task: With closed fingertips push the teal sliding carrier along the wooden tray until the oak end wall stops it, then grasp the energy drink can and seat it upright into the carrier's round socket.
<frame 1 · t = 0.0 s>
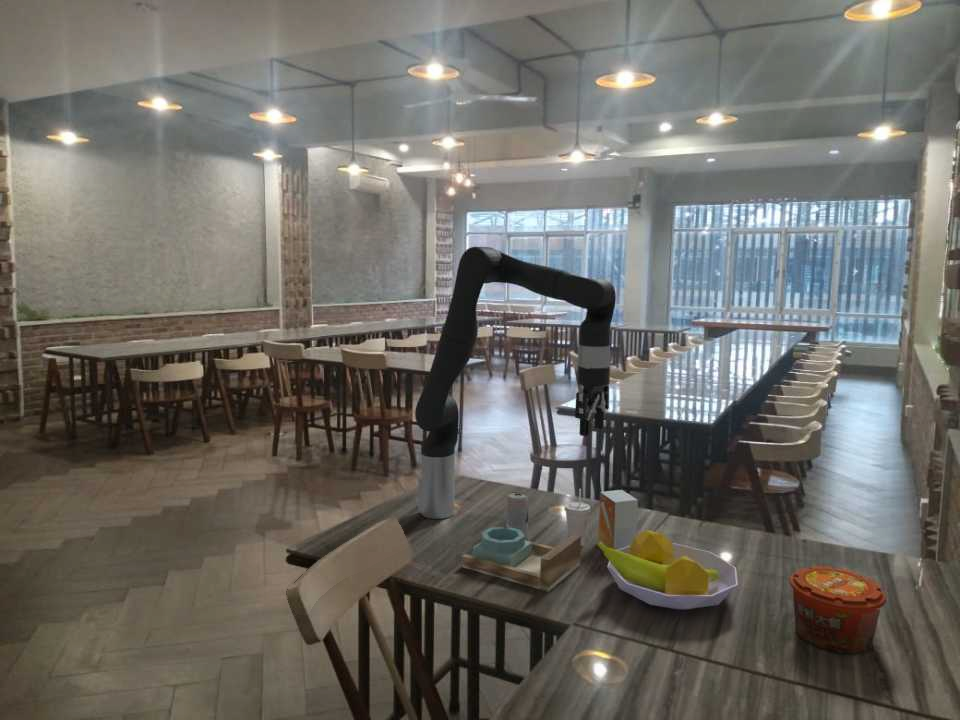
hand: (591, 432, 166), 29 cm above the table, fingers open, 8 cm apart
wooden tray: (521, 566, 160), on the table
small box: (616, 547, 172), on the table
smoothie: (576, 544, 174), on the table
food container: (832, 637, 131), on the table
fruit bowl: (665, 593, 148), on the table
carrier: (502, 545, 163), point 4 cm above the table, slide at 0.0 cm
energy drink: (516, 542, 175), on the table
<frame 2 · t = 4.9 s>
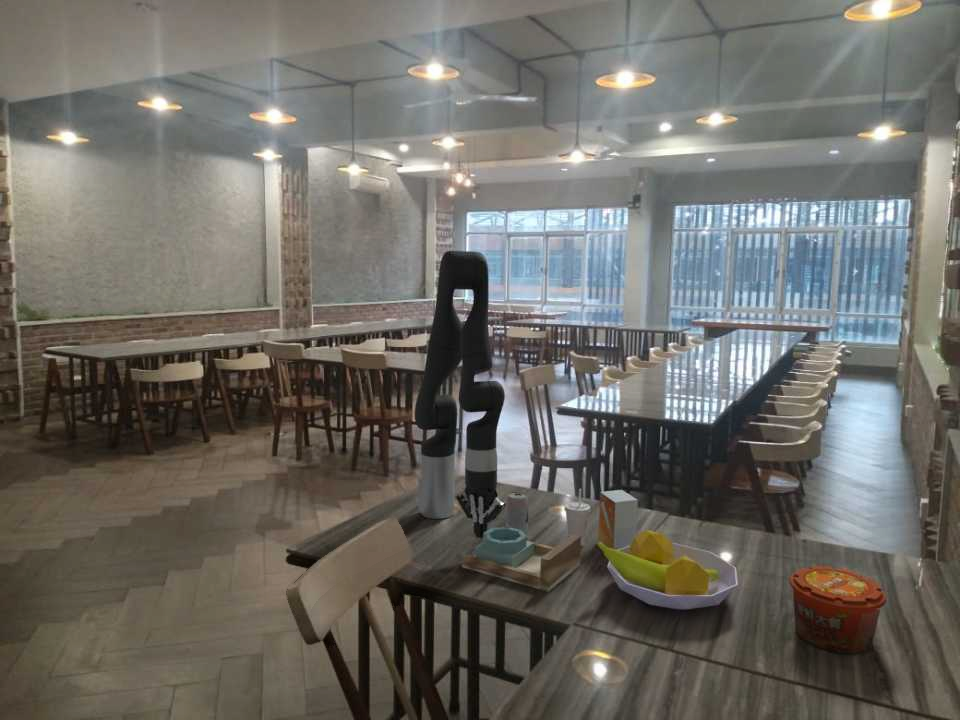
hand: (480, 536, 166), 5 cm above the table, fingers closed
carrier: (504, 545, 162), point 4 cm above the table, slide at 0.5 cm, touching gripper
everything else where it was.
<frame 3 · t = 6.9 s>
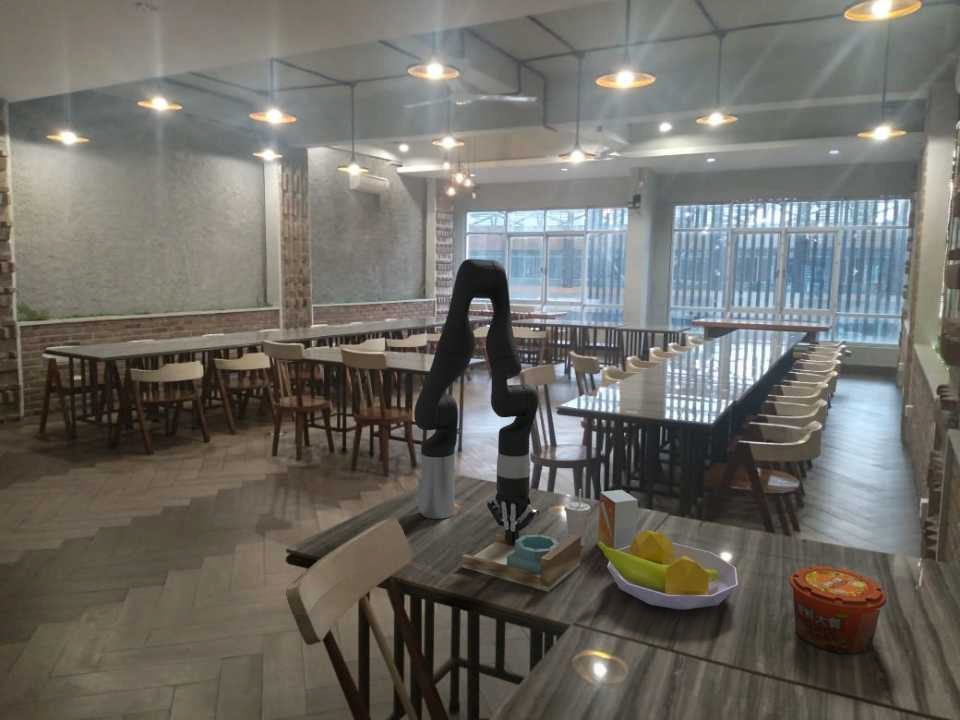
hand: (511, 544, 161), 5 cm above the table, fingers closed
carrier: (537, 554, 158), point 4 cm above the table, slide at 9.0 cm, touching wooden tray, gripper
everything else where it was.
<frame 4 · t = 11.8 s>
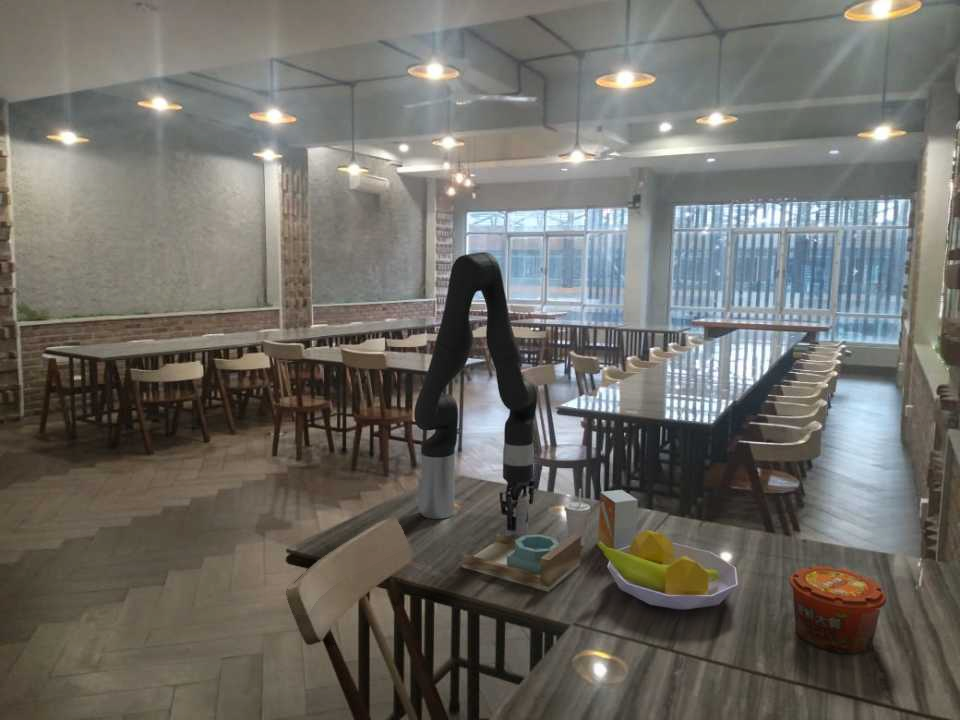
hand: (517, 526, 174), 4 cm above the table, fingers closed on energy drink, 5 cm apart
carrier: (537, 554, 158), point 4 cm above the table, slide at 9.0 cm, touching wooden tray
energy drink: (516, 542, 175), on the table, touching gripper
everything else where it was.
when the fingers open (9 cm above the table, at t = 16.6 s): energy drink drops 1 cm, resting on carrier.
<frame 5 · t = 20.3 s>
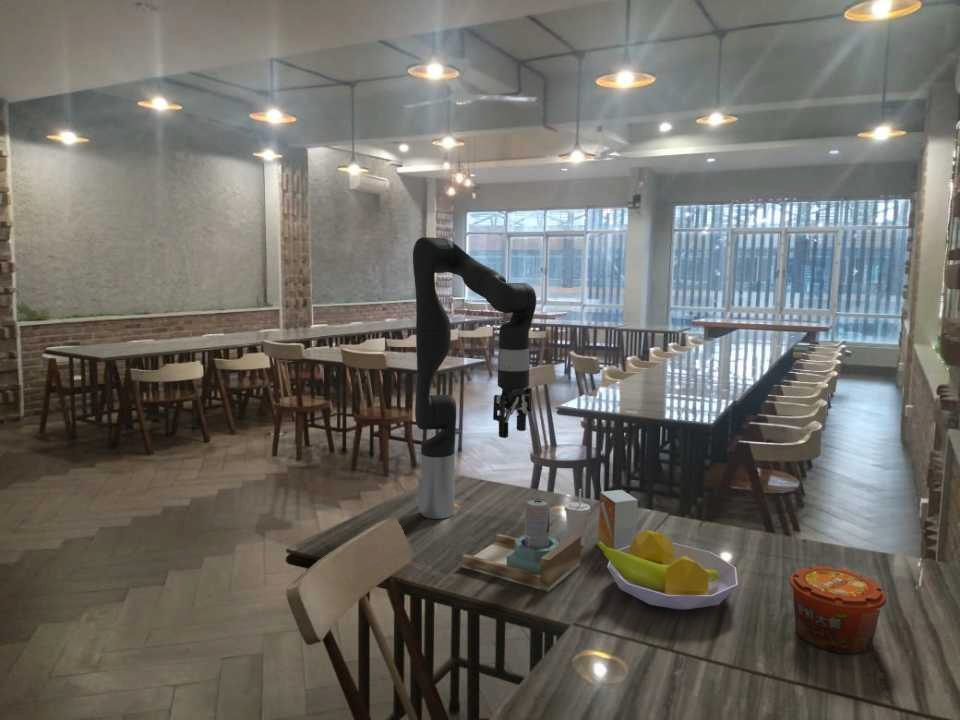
hand: (512, 433, 168), 28 cm above the table, fingers open, 8 cm apart
carrier: (536, 553, 158), point 4 cm above the table, slide at 8.9 cm, touching energy drink
energy drink: (536, 554, 158), point 4 cm above the table, touching carrier
everything else where it was.
at the end: carrier slide at 8.9 cm; energy drink 0.1 cm off-centre on the carrier, point 3.8 cm above the carrier's base; energy drink tilted 0° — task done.
